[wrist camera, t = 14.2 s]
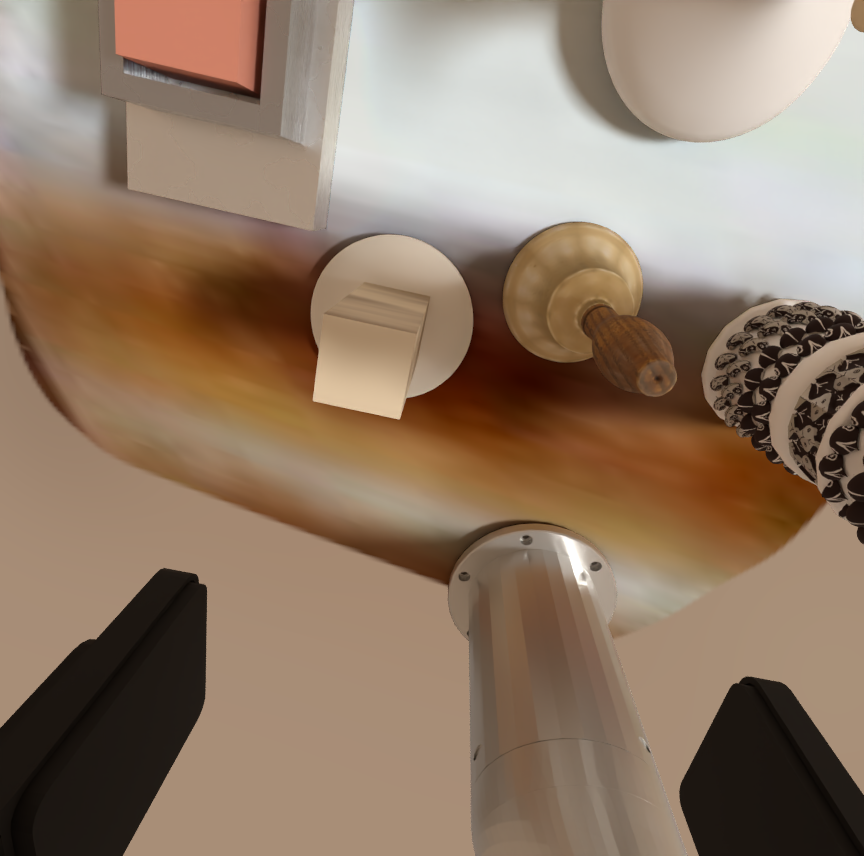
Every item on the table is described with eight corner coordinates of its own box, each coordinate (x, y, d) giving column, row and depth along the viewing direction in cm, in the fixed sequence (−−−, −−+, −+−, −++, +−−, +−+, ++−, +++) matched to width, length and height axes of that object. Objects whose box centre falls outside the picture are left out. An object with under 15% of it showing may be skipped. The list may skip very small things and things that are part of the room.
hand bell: (608, 377, 34) (721, 510, 19) (484, 341, 33) (501, 449, 18) (665, 245, 30) (855, 283, 16) (529, 203, 30) (593, 201, 15)
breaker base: (326, 228, 31) (293, 234, 25) (158, 190, 31) (83, 186, 25) (369, -127, 25) (339, -235, 19) (158, -180, 24) (58, -306, 18)
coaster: (481, 385, 34) (481, 389, 33) (332, 402, 35) (329, 406, 34) (463, 222, 30) (463, 222, 30) (297, 247, 31) (293, 248, 31)
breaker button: (272, 102, 25) (237, 82, 21) (171, 78, 25) (115, 53, 21) (282, -25, 24) (245, -73, 19) (172, -52, 23) (111, -106, 19)
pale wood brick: (417, 359, 33) (399, 419, 24) (355, 346, 33) (312, 400, 24) (430, 296, 31) (416, 334, 22) (364, 281, 31) (323, 313, 22)
